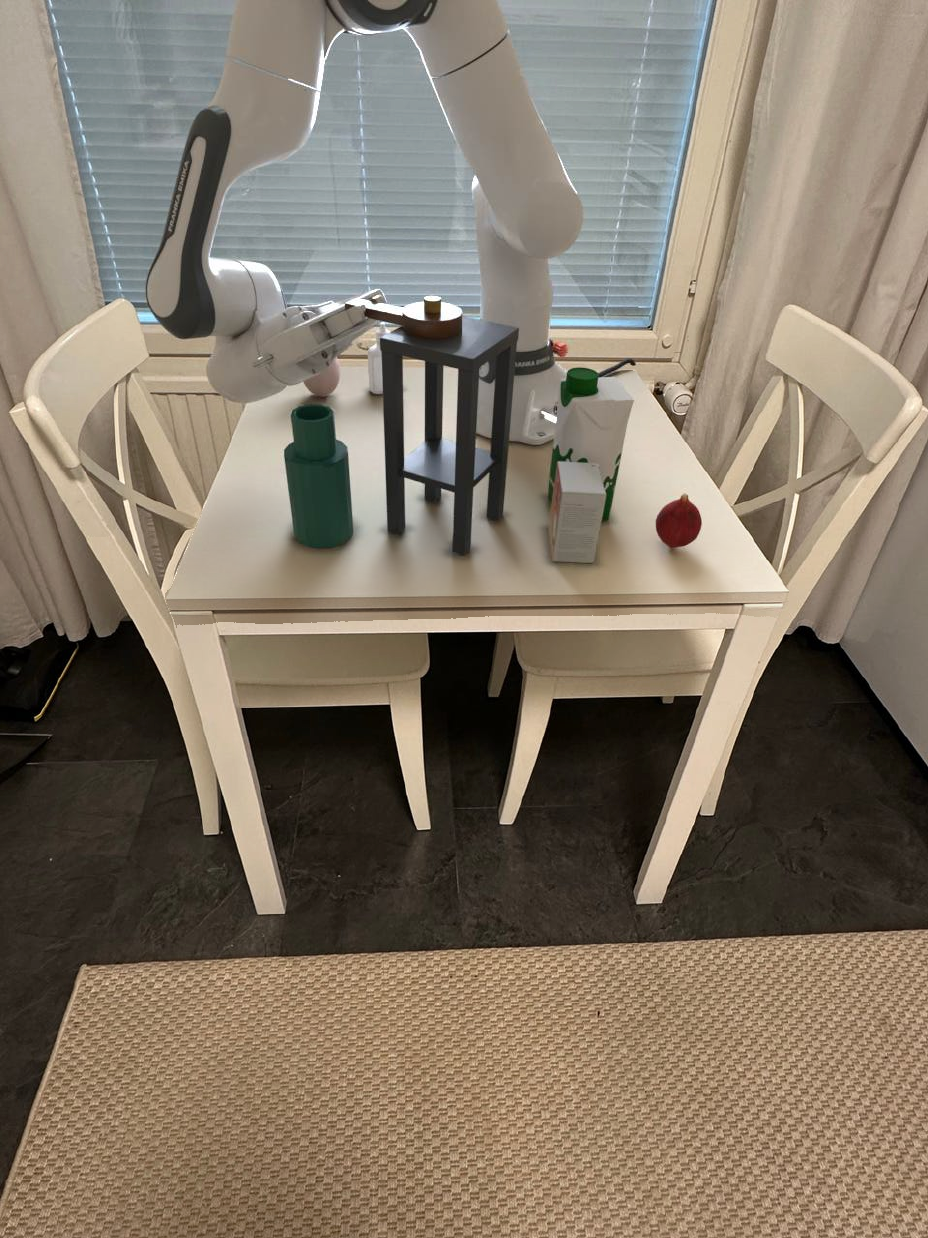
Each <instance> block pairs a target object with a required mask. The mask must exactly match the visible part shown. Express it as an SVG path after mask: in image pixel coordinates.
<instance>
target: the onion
mask: <svg viewBox="0 0 928 1238" xmlns="http://www.w3.org/2000/svg"><path fill="white" fill-rule="evenodd" d="M702 521H703V520H702V516H701V513H700V510H699V508H698V507H697V506H696V505H695V504H694V503H693V502H692V501H691V500H690V499H689V494H687V493H685V492H683V493H682V494H681V496H680V497H679V499H675V500H673V501H671V502H669V503H667V504H665V505H664V506H663V507H662V508H661V509H660V510H659V512H658V514H657V516H656V519H655V531H656V534H657V536H658V538H659V539H660V540H661V542H662V543H664V545H666V546H667V547H669V548H671V549H675V548H684V547H686V546H688V545H689V544H691V543H693V542H694V541H695V540H697V538H698V537H699V534H700V532H701V529H702V525H703V522H702Z"/></svg>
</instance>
